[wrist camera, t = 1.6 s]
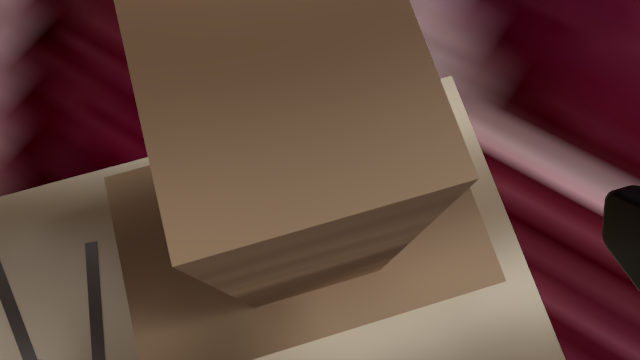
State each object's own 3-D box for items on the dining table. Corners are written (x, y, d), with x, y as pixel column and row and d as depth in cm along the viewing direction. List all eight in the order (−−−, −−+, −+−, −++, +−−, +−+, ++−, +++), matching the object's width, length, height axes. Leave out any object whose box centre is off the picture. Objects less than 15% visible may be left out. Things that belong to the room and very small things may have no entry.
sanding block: (474, 289, 17) (789, 204, 6) (174, 382, 17) (-141, 493, 5) (413, 126, 19) (571, -193, 8) (136, 202, 18) (-169, -29, 7)
